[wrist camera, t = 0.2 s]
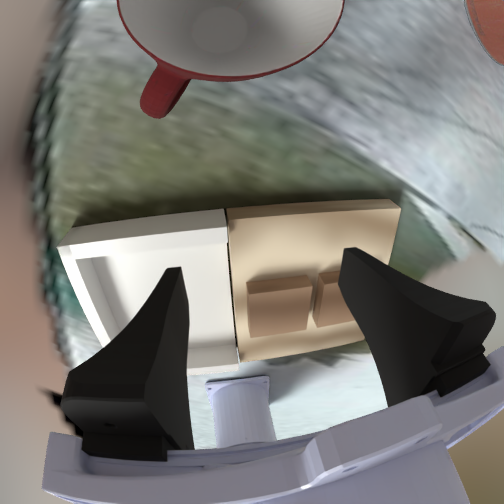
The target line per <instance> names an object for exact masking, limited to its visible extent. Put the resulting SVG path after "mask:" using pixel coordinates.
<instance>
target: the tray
mask: <svg viewBox="0 0 504 504" xmlns="http://www.w3.org/2000/svg"><path fill="white" fill-rule="evenodd" d="M227 243H228V236H227V225H226V219H225V213H224V209H215V210H205V211H196V212H186V213H177V214H168V215H160V216H152V217H144V218H136V219H128V220H121V221H114V222H107V223H100V224H93V225H87V226H80V227H74V228H71V229H70V230H69V231H68V233H67V234H66V235H65V237H64V238H63V239H62V241H61V242H60V244H59V245H58V246H57V248H58V251H59V254H60V257H61V259H62V262H63V264H64V267H65V269H66V272H67V274H68V277H69V279H70V281H71V284H72V286H73V288H74V291H75V293H76V295H77V297H78V299H79V302H80V304H81V306H82V308H83V310H84V312H85V314H86V316H87V318H88V320H89V322H90V324H91V326H92V328H93V330H94V332H95V334H96V336H97V337H98V339H99V341H100V343H101V345H102V347H103V348H104V347H105V346H106V345H107V344H108V343H109V342H110V341H111V340H113V339H114V338H115V337H116V336H117V335H118V334H119V333H120V332H121V331H122V330H123V329H124V328H125V327H126V326H127V325H128V323H129V322H130V321H131V320H132V319H133V317H134V316H135V315H136V314H137V312H138V311H139V310H140V308H141V307H142V306H143V304H144V303H145V302H146V300H147V299H148V297H149V296H150V294H151V293H152V291H153V290H154V288H155V286H156V285H157V283H158V282H159V280H160V278H161V277H162V275H163V273H164V271H165V270H166V269H167V268H171V267H180V266H181V268H182V273H183V278H184V283H185V287H186V292H187V297H188V301H189V317H190V327H189V341H188V355H187V375H200V374H211V373H221V372H231V371H239V363H238V356H237V350H236V343H235V333H234V323H233V312H232V302H231V290H230V279H229V267H228V255H227Z"/></svg>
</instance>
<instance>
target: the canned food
mask: <svg viewBox="0 0 504 504" xmlns="http://www.w3.org/2000/svg"><path fill="white" fill-rule="evenodd" d="M464 4H465V8H466V12H467V15H468V18H469V21H470V24H471V26H472V28H473V31H474V33H475V35H476V37H477V39H478V40H479V42H480V44H481V45H482V47H483V48H484V50H485V51H486V53H487V54H488V55H489V56H490V57H491V58H492V59H493V60H494V61H495V62H496V63H498V64H500V65H503V66H504V0H464Z"/></svg>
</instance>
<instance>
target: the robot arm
mask: <svg viewBox="0 0 504 504" xmlns="http://www.w3.org/2000/svg"><path fill="white" fill-rule="evenodd" d="M338 286H339V288H340V291H341V294H342V296H343V298H344V301H345V303H346V305H347V307H348V308H349V310H350V312H351V314H352V315H353V317H354V319H355V321H356V322H357V324H358V326H359V328H360V330H361V331H362V333H363V335H364V337H365V339H366V341H367V343H368V345H369V347H370V350H371V352H372V355H373V358H374V360H375V363H376V366H377V369H378V372H379V375H380V378H381V381H382V385H383V389H384V392H385V396H386V400H387V405H388V408H386V409H383V410H380V411H377V412H374V413H372V414H369V415H366V416H362V417H359V418H356V419H353V420H350V421H346V422H344V423H341V424H338V425H336V426H333V427H330V428H328V429H326V430H323V431H319V432H315V433H311V434H306V435H302V436H297V437H292V438H287V439H282V440H277V439H276V435H275V430H274V426H273V422H272V417H271V413H270V408H269V404H268V401H269V380H270V379H269V376H260V377H253V378H245V379H237V380H228V381H219V382H208V383H206V384H205V388H206V392H207V395H208V398H209V402H210V405H211V408H212V411H213V416H214V426H215V436H216V445H217V448H215V449H200V450H195V448H194V442H193V435H192V427H191V419H190V410H189V399H188V386H187V355H188V341H189V327H190V317H189V301H188V297H187V292H186V287H185V283H184V278H183V273H182V268H181V266H180V267H171V268H167V269H166V270H165V271H164V273H163V275H162V277H161V278H160V280H159V282H158V283H157V285H156V286H155V288H154V290H153V291H152V293H151V294H150V296H149V297H148V299H147V300H146V302H145V303H144V304H143V306H142V307H141V308H140V310H139V311H138V312H137V314H136V315H135V316H134V317H133V319H132V320H131V321H130V322H129V323H128V325H127V326H126V327H125V328H124V329H123V330H122V331H121V332H120V333H119V334H118V335H117V336H116V337H115V338H114V339H113V340H111V341H110V342H109V343H108V344H107V345H106V346H105V347H104V348H102V349H101V350H100V351H99V352H97V353H96V354H95V355H94V356H92V357H91V358H89V359H88V360H87V361H85V362H84V363H82V364H81V365H79V366H77V367H76V368H74V369H73V370H71V371H70V372H69V374H68V377H67V380H66V383H65V387H64V392H63V396H62V400H61V408H62V410H63V412H64V413H65V414H66V415H67V416H68V417H69V418H70V419H71V420H72V421H73V422H74V423H75V424H76V425H77V426H78V427H79V428H80V429H82V430H83V431H84V433H83V439H81V438H79V437H77V436H73V435H67V434H61V433H56V432H50V435H49V440H48V445H47V451H46V458H45V465H44V473H43V482H42V489H43V490H44V491H46V492H48V493H50V494H52V495H54V496H57V497H59V498H61V499H64V500H66V501H69V502H71V503H74V504H470V502H469V499H468V496H467V494H466V492H465V489H464V487H463V484H462V482H461V480H460V478H459V475H458V473H457V471H456V468H455V466H454V464H453V462H452V460H451V457H450V455H449V453H448V451H447V449H448V448H450V447H452V446H453V445H455V444H456V443H458V442H459V441H461V440H462V439H464V438H465V437H466V436H468V435H469V434H471V433H472V432H474V431H475V430H476V429H478V428H479V427H480V426H482V425H483V424H484V423H486V422H487V421H488V420H490V419H491V418H492V417H494V416H495V415H496V414H497V413H499V412H500V411H501V410H502V409H503V408H504V346H501V347H500V348H498V349H497V350H495V351H493V352H492V353H490V354H489V355H488V356H487V357H485V356H484V354H483V353H484V351H485V348H484V346H483V345H482V343H483V342H484V340H485V338H486V337H487V335H488V334H489V332H490V331H491V329H492V327H493V325H494V323H495V319H496V313H495V312H494V311H493V309H492V308H491V307H490V306H489V305H488V304H487V303H486V302H483V301H478V300H472V299H467V298H463V297H459V296H455V295H452V294H449V293H445V292H443V291H440V290H437V289H434V288H432V287H429V286H427V285H425V284H423V283H420V282H418V281H416V280H414V279H412V278H410V277H408V276H406V275H404V274H402V273H401V272H399V271H397V270H395V269H393V268H392V267H390V266H388V265H387V264H385V263H383V262H382V261H380V260H378V259H377V258H375V257H373V256H372V255H370V254H368V253H366V252H365V251H363V250H361V249H359V248H357V247H350V248H344V250H343V257H342V263H341V269H340V274H339V280H338Z"/></svg>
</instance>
